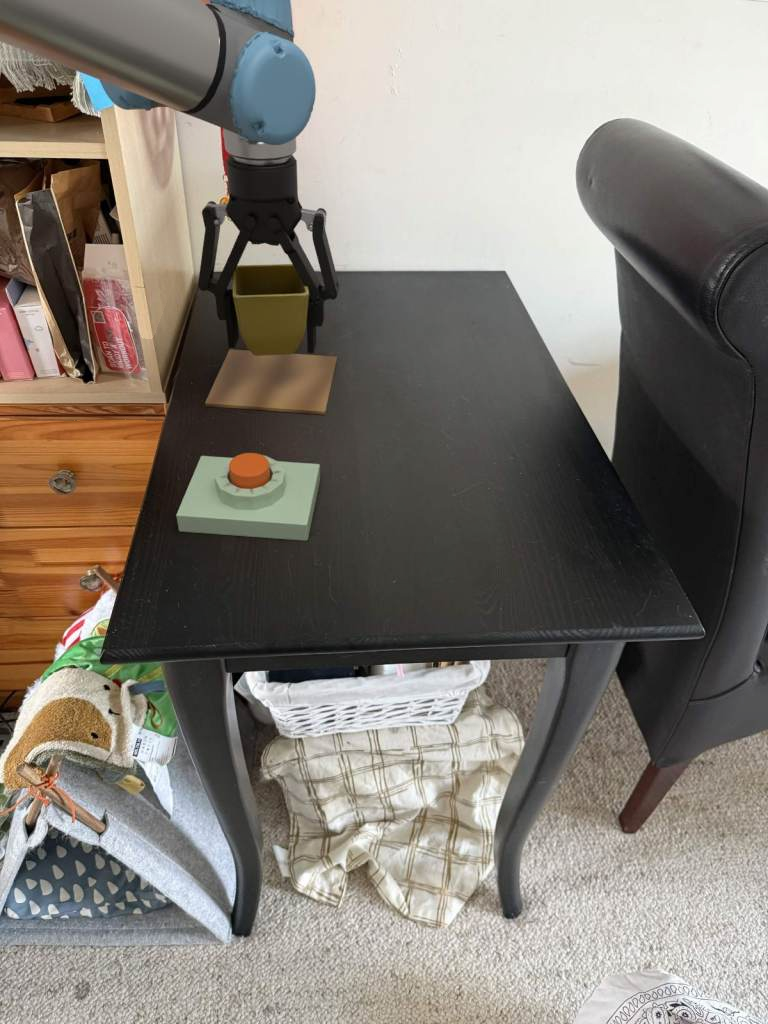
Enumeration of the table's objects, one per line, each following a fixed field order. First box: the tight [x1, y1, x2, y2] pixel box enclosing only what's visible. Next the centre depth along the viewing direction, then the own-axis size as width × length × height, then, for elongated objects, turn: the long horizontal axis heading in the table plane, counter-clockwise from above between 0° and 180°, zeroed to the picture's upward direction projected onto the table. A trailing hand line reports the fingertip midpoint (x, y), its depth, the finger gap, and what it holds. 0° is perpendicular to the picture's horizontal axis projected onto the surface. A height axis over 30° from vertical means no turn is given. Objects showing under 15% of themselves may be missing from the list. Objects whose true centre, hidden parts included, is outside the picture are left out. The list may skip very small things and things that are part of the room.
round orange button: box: [229, 452, 270, 489], centre depth 74 cm, size 4×4×2 cm
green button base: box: [175, 454, 321, 542], centre depth 76 cm, size 13×10×4 cm
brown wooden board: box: [204, 348, 338, 415], centre depth 96 cm, size 15×14×1 cm
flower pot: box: [231, 263, 309, 356], centre depth 90 cm, size 9×9×9 cm
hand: (272, 345), depth 93 cm, fingers closed on flower pot, 9 cm apart
